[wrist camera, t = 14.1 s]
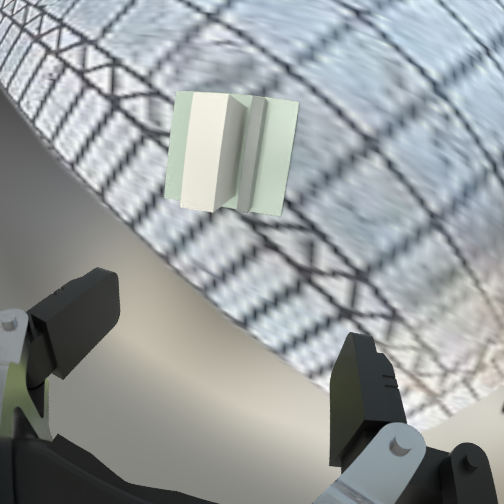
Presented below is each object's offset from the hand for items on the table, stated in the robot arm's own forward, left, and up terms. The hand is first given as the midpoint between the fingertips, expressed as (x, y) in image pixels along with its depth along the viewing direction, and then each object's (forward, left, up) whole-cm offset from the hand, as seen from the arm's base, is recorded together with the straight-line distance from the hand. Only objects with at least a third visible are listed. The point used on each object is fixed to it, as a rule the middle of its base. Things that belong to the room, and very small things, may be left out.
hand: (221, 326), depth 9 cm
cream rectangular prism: (+6, -4, -25) cm, 26 cm away
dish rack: (+6, -4, -26) cm, 27 cm away
